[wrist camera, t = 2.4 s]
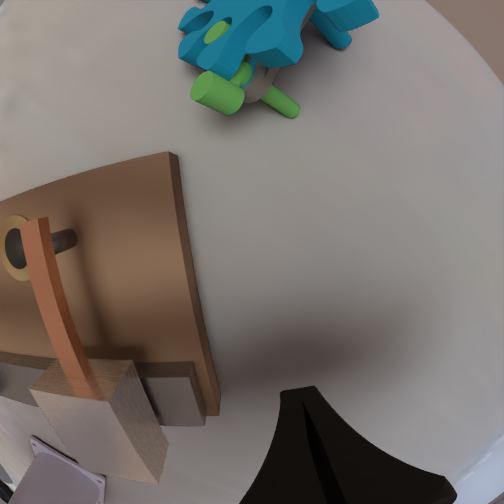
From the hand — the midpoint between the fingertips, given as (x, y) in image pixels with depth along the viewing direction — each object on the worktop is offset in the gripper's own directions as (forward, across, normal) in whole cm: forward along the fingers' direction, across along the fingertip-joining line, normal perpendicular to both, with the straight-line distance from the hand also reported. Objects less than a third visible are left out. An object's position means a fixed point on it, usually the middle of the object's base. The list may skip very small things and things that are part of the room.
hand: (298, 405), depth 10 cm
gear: (+4, -1, -16) cm, 16 cm away
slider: (+1, +8, -3) cm, 9 cm away
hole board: (+3, +15, -4) cm, 16 cm away
